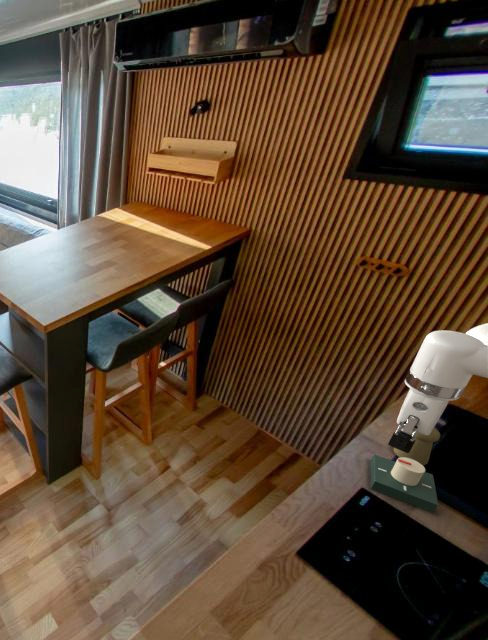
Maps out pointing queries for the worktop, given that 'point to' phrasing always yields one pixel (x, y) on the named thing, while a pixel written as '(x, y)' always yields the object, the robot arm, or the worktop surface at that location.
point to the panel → (402, 485)
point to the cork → (420, 447)
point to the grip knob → (407, 471)
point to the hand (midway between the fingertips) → (405, 437)
